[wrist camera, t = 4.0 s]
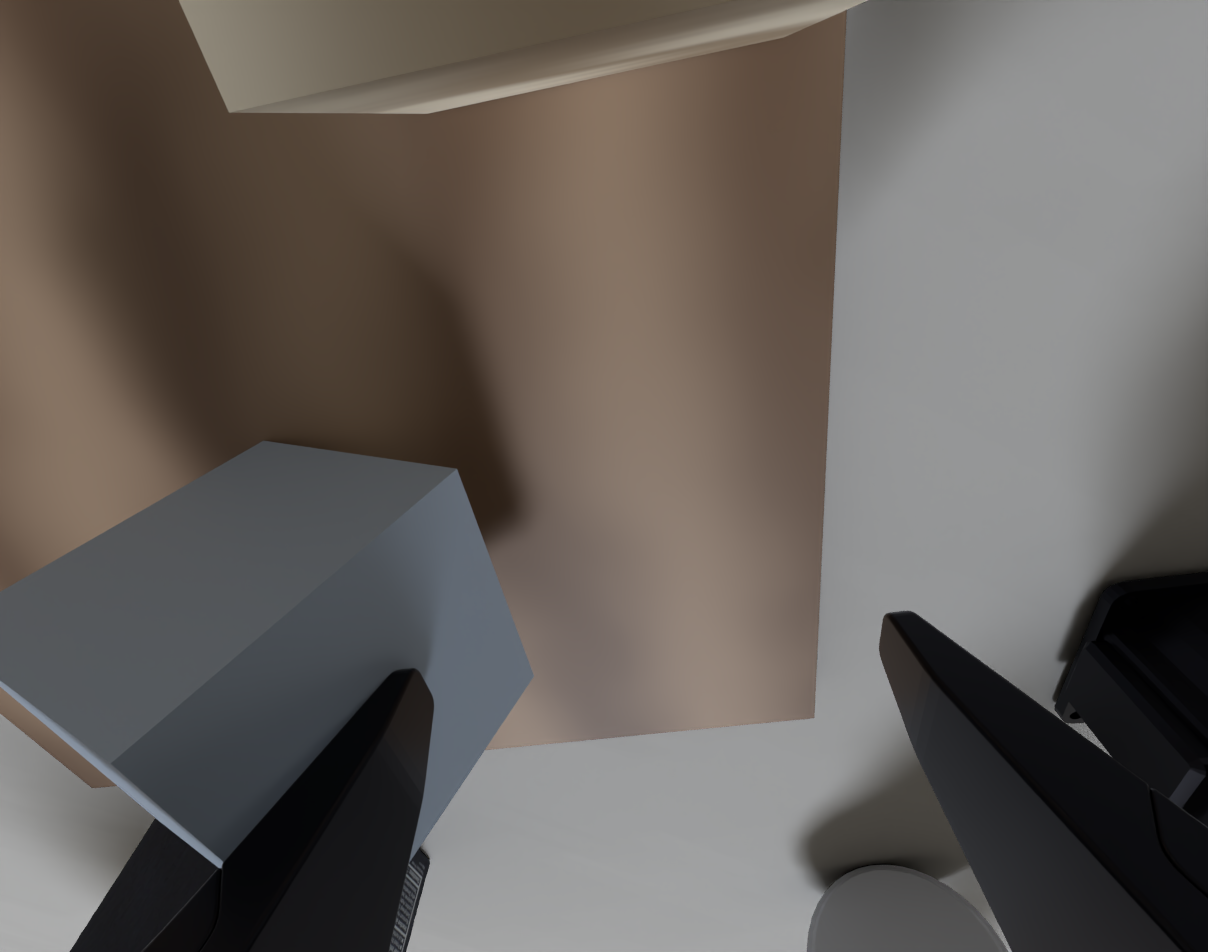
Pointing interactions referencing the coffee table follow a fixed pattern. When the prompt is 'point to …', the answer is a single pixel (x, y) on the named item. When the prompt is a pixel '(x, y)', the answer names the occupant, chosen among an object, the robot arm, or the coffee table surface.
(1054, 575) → the coffee table surface
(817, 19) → the birch cube
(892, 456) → the coffee table surface
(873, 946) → the headphones
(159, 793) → the slate cube
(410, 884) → the small box
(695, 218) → the walnut board
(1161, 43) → the coffee table surface
